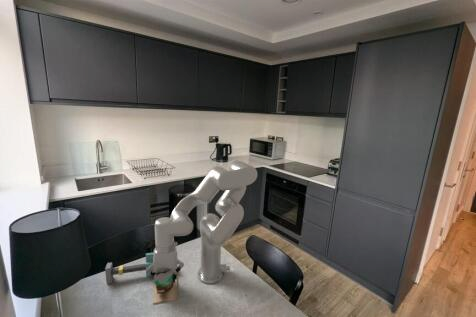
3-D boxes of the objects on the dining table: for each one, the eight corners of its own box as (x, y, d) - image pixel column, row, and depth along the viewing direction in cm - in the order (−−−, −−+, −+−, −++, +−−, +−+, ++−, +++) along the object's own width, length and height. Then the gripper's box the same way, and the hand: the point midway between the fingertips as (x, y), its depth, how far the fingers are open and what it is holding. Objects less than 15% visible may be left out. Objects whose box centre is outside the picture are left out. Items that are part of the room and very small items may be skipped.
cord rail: (172, 268, 116) (172, 254, 115) (172, 273, 113) (172, 259, 111) (108, 277, 108) (107, 263, 106) (106, 284, 104) (105, 268, 103)
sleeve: (155, 267, 115) (155, 249, 112) (155, 275, 109) (154, 256, 107) (147, 268, 113) (146, 250, 111) (146, 276, 108) (145, 258, 106)
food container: (169, 298, 96) (167, 278, 94) (155, 296, 97) (153, 276, 95) (180, 277, 108) (179, 258, 106) (168, 275, 109) (167, 257, 107)
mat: (177, 277, 110) (176, 276, 110) (178, 299, 98) (178, 298, 98) (154, 281, 107) (154, 280, 107) (153, 304, 95) (153, 303, 95)
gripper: (185, 238, 104) (185, 272, 108) (144, 243, 99) (146, 279, 103) (186, 248, 97) (186, 284, 101) (142, 254, 92) (144, 292, 96)
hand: (166, 281), depth 102 cm, fingers closed on food container, 6 cm apart
